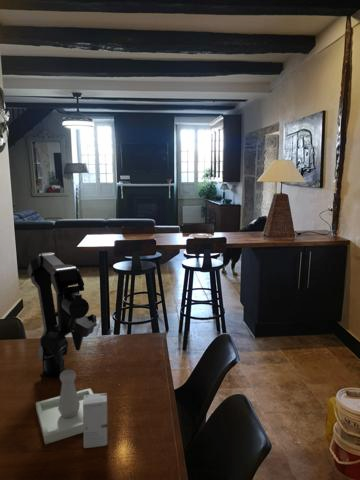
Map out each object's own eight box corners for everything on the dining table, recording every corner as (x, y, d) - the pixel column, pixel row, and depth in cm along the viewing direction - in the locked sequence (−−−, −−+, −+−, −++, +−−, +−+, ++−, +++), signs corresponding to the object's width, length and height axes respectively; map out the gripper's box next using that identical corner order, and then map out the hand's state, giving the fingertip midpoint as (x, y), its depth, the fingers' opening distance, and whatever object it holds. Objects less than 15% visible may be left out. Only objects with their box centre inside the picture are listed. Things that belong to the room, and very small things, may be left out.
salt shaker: (65, 423, 100) (63, 379, 98) (54, 414, 104) (52, 372, 102) (84, 413, 104) (82, 371, 102) (73, 405, 108) (71, 364, 106)
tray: (36, 410, 107) (35, 402, 107) (90, 395, 115) (90, 388, 114) (45, 444, 93) (44, 436, 93) (106, 424, 101) (105, 417, 100)
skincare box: (83, 449, 92) (81, 405, 90) (83, 437, 96) (82, 394, 94) (108, 445, 93) (107, 401, 91) (107, 433, 97) (106, 391, 95)
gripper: (71, 323, 98) (73, 376, 101) (106, 301, 116) (107, 347, 118) (37, 317, 102) (40, 370, 104) (76, 297, 119) (78, 342, 122)
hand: (69, 356), depth 112 cm, fingers open, 9 cm apart
